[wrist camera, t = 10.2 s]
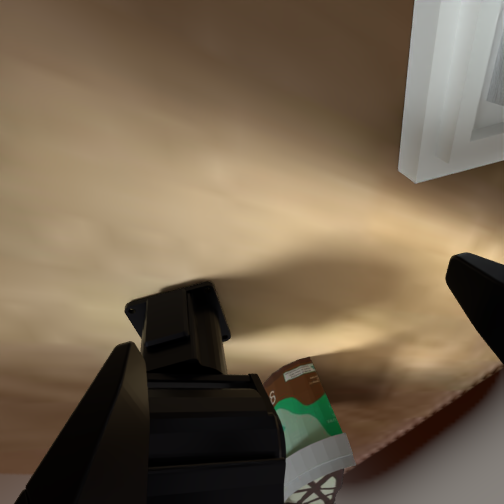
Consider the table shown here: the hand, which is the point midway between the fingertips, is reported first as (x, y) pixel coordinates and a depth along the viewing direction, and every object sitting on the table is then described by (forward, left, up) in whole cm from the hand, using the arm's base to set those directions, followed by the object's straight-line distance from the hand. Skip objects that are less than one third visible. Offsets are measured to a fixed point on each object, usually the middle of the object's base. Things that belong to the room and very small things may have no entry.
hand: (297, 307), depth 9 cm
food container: (-26, +1, -13) cm, 29 cm away
